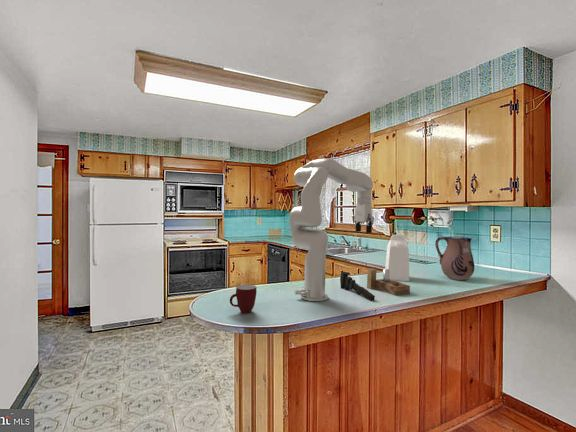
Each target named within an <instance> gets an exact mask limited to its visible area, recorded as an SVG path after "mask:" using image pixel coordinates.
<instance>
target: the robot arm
mask: <svg viewBox="0 0 576 432" xmlns="http://www.w3.org/2000/svg"><path fill="white" fill-rule="evenodd" d="M328 178H329V179H330V180H333V181H334V182H335V183H338V184H341V185H345V188H346V189H347V190H348V191H349V192H353V193H355V192H356V193H357V195H356V199H357V200H356V202H357V203H356V204H355V210H354V212H355V213H354V216H353V220H354V224H355V232H358V233H359V232H361V231H362V223H365V224H366V225H365V232H366V234H372V230H373V224H374V222H375V217H374V216H373V209H372V208H373V207H372V188H373V187H374V181H373V179H372V178H371V177H370V175H368V174H366V173H365V172H361V171H359V170H355V169H352V168H348V167H346V166H344V165H343V164H341V163H340V162H338V161H336V159H334V158H329V157H326V158H325V157H324V158H317V159H313V160H311V161H309V162H307V163H306V164H305V165H303V166H301V167H299V168H298V169H297V170H296V171H295V172H294V176H293V180H294V183H295V184H296V185H297V186H299V187H303V189H302V190H301V193H300V206H294V208H292V209H291V211H290V213H289V226H290V233H291V239H292V242H293V244H294V246H295V247H296V248H299V249H304V250H308V252H307V253H306V255H305V258H304V286H303V287H302V286H301V287H302V288H301V289H300V290H299V289H296V290H294V295H295V296H296V295H297V296H298V295H299V296H300V298H301V299H303V300H305V301H308V302H323V301H326V300H328V299H329V295H328V294H327V293H326V257H327V249H328V244H329V236H328V234H327V233H326V232H325V231H324V230H320V229H316V228H319V226H321V225H322V222H323V218H322V217H323V216H322V214H323V213H322V208H321V201H320V200H321V199H320V196H321V195H320V194H321V191H322V189H323V187H324V185H325V184H326V183H327V180H328ZM312 228H313V229H312ZM314 228H315V229H314Z"/></svg>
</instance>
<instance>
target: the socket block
mask: <svg viewBox="0 0 576 432" xmlns="http://www.w3.org/2000/svg"><path fill="white" fill-rule="evenodd" d="M376 289H377V290H380V291H383V292H385V293H388V294H390V295H393V296H401V295H402V296H403V295H410V292H411V285H409V284H406V283H402V282H400V281H398V280H391V279H389V282H383V278H382V279H376Z"/></svg>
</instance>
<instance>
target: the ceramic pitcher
mask: <svg viewBox="0 0 576 432" xmlns="http://www.w3.org/2000/svg"><path fill="white" fill-rule="evenodd" d="M440 240H444V241H445V242H446V244H447V245H446V247H445V250H444V252H443V253H442V252H441V251H440V247H439V242H440ZM471 242H472V238H471V237H464V236H439V237H437V238H436V240H435V249H436V252H437V255H438V256H439V264H440V268H441V271H442V273H443V274H444V276H446V277H447V278H449V279H450V280H455V281H465V280H468V279H469V278H471V277H472V276H473V274H474V273H475V261H474V256H473V253H472V248H471Z"/></svg>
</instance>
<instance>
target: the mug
mask: <svg viewBox="0 0 576 432" xmlns="http://www.w3.org/2000/svg"><path fill="white" fill-rule="evenodd" d="M257 292H258V291H257V286H256V285H254V284H240V285H239V284H238V285H237V286H236V288H235V293H234V294H231V296H230V298H229V304H230V305H231V306H232V307H233V308H234V307H236V308H237V307H238V309H239V311H240V312H241V313H242V314H251V312H252V311H253V309H254V307H255V303H256V297H257ZM234 298H236V303H237V304H234V303H233V300H234Z"/></svg>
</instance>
